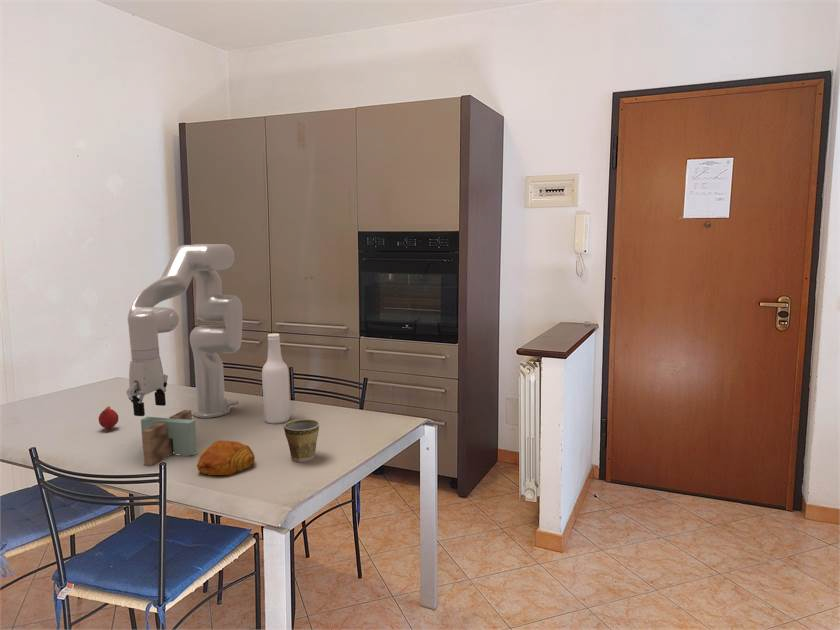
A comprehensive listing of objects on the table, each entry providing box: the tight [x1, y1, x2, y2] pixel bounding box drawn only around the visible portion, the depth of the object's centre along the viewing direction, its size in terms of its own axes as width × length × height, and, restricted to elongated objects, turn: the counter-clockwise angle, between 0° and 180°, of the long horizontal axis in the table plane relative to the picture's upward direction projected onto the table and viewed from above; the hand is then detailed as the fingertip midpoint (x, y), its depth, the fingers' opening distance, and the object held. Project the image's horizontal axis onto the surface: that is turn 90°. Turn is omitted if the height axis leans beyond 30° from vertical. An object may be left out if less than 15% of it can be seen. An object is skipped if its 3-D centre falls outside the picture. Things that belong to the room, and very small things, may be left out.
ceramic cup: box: [283, 418, 320, 463], centre depth 179 cm, size 13×10×10 cm
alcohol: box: [261, 333, 291, 425], centre depth 210 cm, size 9×9×30 cm
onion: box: [98, 405, 119, 431], centre depth 203 cm, size 6×6×8 cm
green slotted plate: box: [140, 416, 198, 456], centre depth 182 cm, size 16×3×10 cm, turn 77°
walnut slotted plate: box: [141, 409, 193, 467], centre depth 182 cm, size 20×2×10 cm, turn 167°
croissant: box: [196, 440, 256, 476], centre depth 172 cm, size 14×16×8 cm
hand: (150, 410), depth 183 cm, fingers open, 9 cm apart
